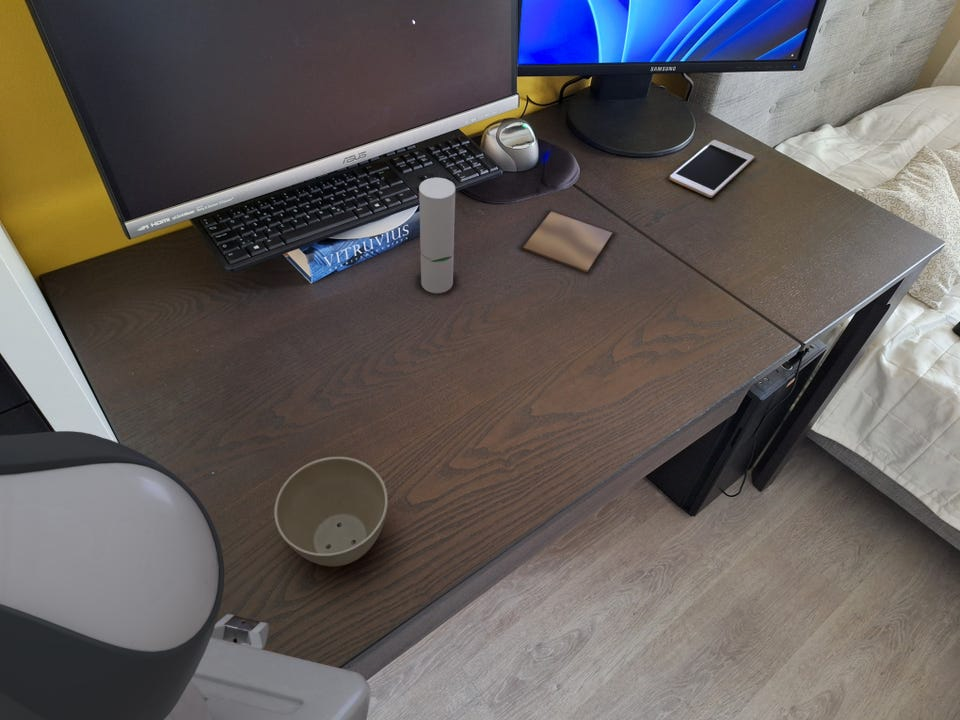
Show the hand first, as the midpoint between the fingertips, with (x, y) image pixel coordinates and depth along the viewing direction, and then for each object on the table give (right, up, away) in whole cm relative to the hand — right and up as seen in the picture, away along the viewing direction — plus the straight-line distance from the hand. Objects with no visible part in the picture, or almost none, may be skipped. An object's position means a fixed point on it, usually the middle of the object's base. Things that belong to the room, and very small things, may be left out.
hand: (247, 628), depth 45 cm
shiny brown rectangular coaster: (+28, +35, +53) cm, 70 cm away
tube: (+10, +28, +46) cm, 55 cm away
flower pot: (+2, 0, +20) cm, 21 cm away
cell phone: (+55, +50, +68) cm, 100 cm away
